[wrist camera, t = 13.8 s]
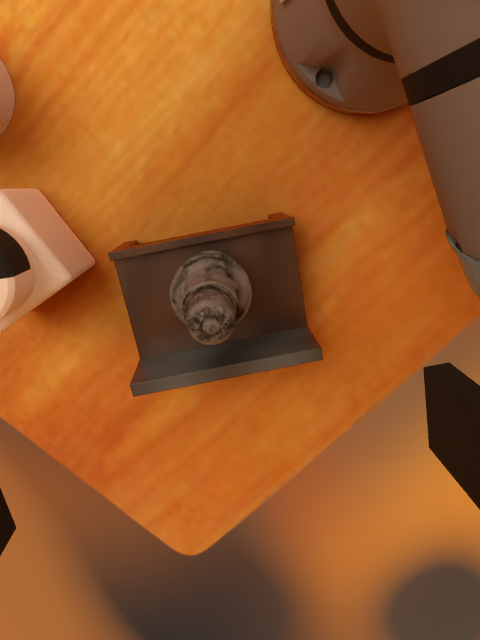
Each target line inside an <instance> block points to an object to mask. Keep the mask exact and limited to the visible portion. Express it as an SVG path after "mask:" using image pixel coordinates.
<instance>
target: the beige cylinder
mask: <svg viewBox="0 0 480 640" xmlns="http://www.w3.org/2000/svg"><path fill="white" fill-rule="evenodd" d="M14 103H15V97H14V89H13V84H12V81H11V78H10V75H9V73H8V71H7V69H6V67H5V65H4V64H3V62H2V61H1V59H0V135H1V134H2V133H3V132H4V131H5V129H6V128H7V126H8V125H9V123H10V121H11V118H12V115H13V111H14Z"/></svg>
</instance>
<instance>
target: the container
mask: <svg viewBox="0 0 480 640" xmlns="http://www.w3.org/2000/svg"><path fill="white" fill-rule="evenodd" d="M94 264H95V259H94V258H93V257H92V255H91V254H90V253H89V252H88V250H87V249H86V248H85V247H84V245H83V244H82V243H81V241H80V240H79V239H78V238H77V236H76V235H75V234H74V233H73V231H72V230H71V229H70V228H69V226H68V225H67V224H66V223H65V221H64V220H63V219H62V218H61V216H60V215H59V214H58V213H57V211H56V210H55V209H54V208H53V206H52V205H51V204H50V202H49V201H48V200H47V199H46V197H45V196H44V195H43V194H42V192H41V191H40V190H39V189H37V188H20V189H0V332H2V331H3V330H4V329H6V328H7V327H9V326H10V325H12V324H13V323H14V322H16V321H17V320H19V319H20V318H21V317H23V316H24V315H26V314H27V313H29V312H30V311H31V310H33V309H34V308H36V307H37V306H38V305H40V304H41V303H42V302H44V301H45V300H47V299H48V298H49V297H51V296H52V295H54V294H55V293H56V292H58V291H59V290H60V289H62V288H63V287H65V286H66V285H67V284H69V283H70V282H72V281H73V280H74V279H76V278H77V277H78V276H80V275H81V274H83V273H84V272H85V271H87V270H88V269H89V268H91V267H92V266H94Z"/></svg>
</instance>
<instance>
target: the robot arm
mask: <svg viewBox="0 0 480 640" xmlns="http://www.w3.org/2000/svg"><path fill="white" fill-rule="evenodd" d="M271 23H272V30H273V35H274V39H275V43H276V47H277V49H278V52H279V55H280V57H281V59H282V61H283V63H284V66H285V67H286V69H287V71H288V72H289V74H290V75H291V77H292V78H293V79H294V81H295V82H296V83H297V84H298V86H299V87H300V88H301V89H302V90H303V91H304V92H305V93H307V94H308V95H309V96H310V97H311V98H313V99H314V100H316V101H317V102H319V103H320V104H322V105H324V106H326V107H328V108H330V109H333V110H336V111H339V112H342V113H348V114H355V115H369V114H376V113H381V112H385V111H388V110H391V109H394V108H397V107H399V106H401V105H404V104H406V103H409V108H410V111H411V114H412V118H413V121H414V124H415V127H416V130H417V134H418V137H419V140H420V143H421V146H422V149H423V153H424V156H425V159H426V162H427V165H428V169H429V172H430V175H431V178H432V181H433V185H434V188H435V191H436V194H437V197H438V201H439V204H440V207H441V210H442V213H443V216H444V220H445V223H446V226H447V229H446V236H447V239H448V242H449V244H450V246H451V247H452V249H453V250H454V251H455V252H456V253H457V255H458V257H459V260H460V263H461V265H462V268H463V270H464V273H465V276H466V278H467V281H468V283H469V285H470V287H471V288H472V290H473V291H474V293H475V294H476V295H477V296H478V297H479V298H480V0H271ZM424 381H425V396H426V409H427V424H428V439H429V448H430V449H431V450H432V452H433V453H434V454H435V455H436V457H437V458H438V459H439V460H440V461H441V463H442V464H443V465H444V466H445V468H446V469H447V470H448V471H449V472H450V474H451V475H452V476H453V477H454V479H455V480H456V481H457V482H458V483H459V485H460V486H461V487H462V488H463V490H464V491H465V492H466V493H467V494H468V496H469V497H470V498H471V499H472V501H473V502H474V503H475V504H476V505H477V507H478V508H479V509H480V386H479V385H478V384H476V383H475V382H474V381H473V380H471V379H470V378H469V377H467V376H466V375H465V374H464V373H462V372H461V371H460V370H458V369H457V368H456V367H454V366H453V365H452V364H450V363H444V364H438V365H433V366H428V367H424ZM15 529H16V526H15V523H14V521H13V518H12V516H11V513H10V511H9V508H8V506H7V504H6V501H5V499H4V496H3V494H2V491H1V489H0V556H1V554H2V552H3V550H4V548H5V547H6V545H7V543H8V541H9V540H10V538H11V536H12V534H13V533H14V531H15Z"/></svg>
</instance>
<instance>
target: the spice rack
mask: <svg viewBox="0 0 480 640" xmlns="http://www.w3.org/2000/svg"><path fill="white" fill-rule="evenodd" d="M268 216H269V219H268V220H263V221H257V222H252V223H247V224H242V225H237V226H232V227H226V228H221V229H216V230H211V231H206V232H200V233H195V234H190V235H185V236H180V237H175V238H169V239H164V240H159V241H154V242H149V243H144V244H138V243H137V240H135V241H130V242H125V243H123V244H121V245H120V246H118V247H117V248H115V249H114V250H113V251H111V252H109V253H108V255H109V259H110V261H113V260H114V262H115V266H116V270H117V274H118V277H119V281H120V285H121V288H122V292H123V296H124V300H125V303H126V307H127V311H128V315H129V318H130V322H131V326H132V330H133V333H134V337H135V341H136V344H137V348H138V352H139V356H140V361H139V363H138V366H137V368H136V371H135V373H134V376H133V378H132V380H131V383H130V387H131V391H132V394H133V397H134V396H139V395H144V394H149V393H155V392H160V391H165V390H170V389H175V388H180V387H186V386H191V385H196V384H201V383H206V382H211V381H216V380H222V379H227V378H232V377H237V376H242V375H247V374H253V373H258V372H263V371H268V370H273V369H278V368H284V367H289V366H294V365H299V364H304V363H309V362H315V361H320V360H323V356H322V348H321V346H320V345H319V343H318V342H317V340H316V339H315V337H314V336H313V334H312V333H311V331H310V330H309V328H308V327H307V320H306V313H305V307H304V300H303V293H302V286H301V280H300V273H299V266H298V259H297V252H296V246H295V239H294V232H293V226H294V225H295V222H294V217H291V216H289V215H287V214H284V213H282V212H280V213H275V214H270V215H268ZM210 250H213V251H219V252H222V253H225V254H227V255H229V256H230V257H231V258H233V259H234V260H235V261H236V262H237V263H238V264H239V265H240V266H241V267H242V268H243V270H244V271H245V272H246V274H247V275H248V278H249V281H250V283H251V289H252V299H251V304H250V307H249V309H248V311H247V314H246V315H245V316H244V318H243V319H242V320H241V321H240V322H239V323H238V324H237V325H235V328H234V330H233V332H232V334H231V335H230V336H229V338H228V339H226V340H225V341H224V342H222V343H219V344H215V345H207V344H203V343H200V342H198V341H197V340H195V339H194V338H193V337H192V336H191V334H190V333H189V331H188V329H187V326H186V325H185V324H184V323H183V322H182V321H181V320H180V319H179V318H178V316H177V315H176V314H175V312H174V310H173V307H172V305H171V300H170V286H171V282H172V279H173V277H174V275H175V273H176V271H177V270H178V269H179V268H180V266H181V265H182V264H183V263H185V262H186V261H187V260H188V259H189V258H190V257H192V256H193V255H195V254H197V253H200V252H202V251H210Z"/></svg>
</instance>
